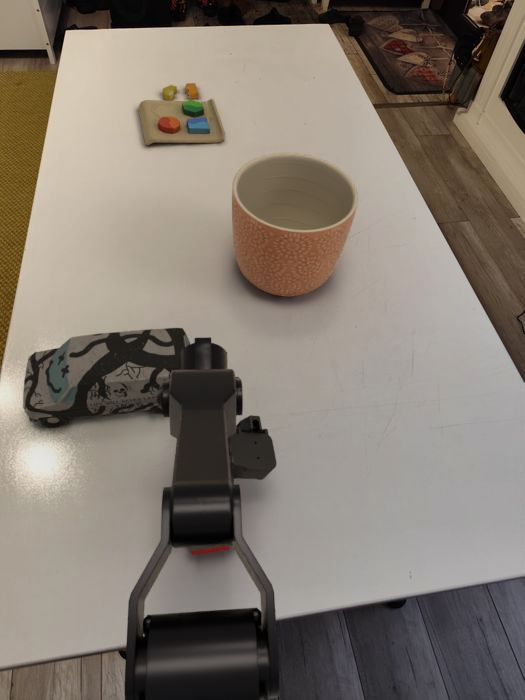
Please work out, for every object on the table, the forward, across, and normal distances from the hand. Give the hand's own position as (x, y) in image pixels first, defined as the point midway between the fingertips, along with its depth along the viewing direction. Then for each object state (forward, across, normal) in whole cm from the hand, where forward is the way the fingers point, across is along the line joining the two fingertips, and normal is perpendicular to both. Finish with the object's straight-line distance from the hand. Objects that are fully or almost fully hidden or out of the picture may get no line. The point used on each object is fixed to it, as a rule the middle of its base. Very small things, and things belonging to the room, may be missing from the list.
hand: (205, 493), depth 71 cm
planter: (+2, +43, -19) cm, 47 cm away
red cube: (+2, -5, 0) cm, 5 cm away
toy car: (+2, +19, +12) cm, 23 cm away
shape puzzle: (+2, +98, -3) cm, 98 cm away
